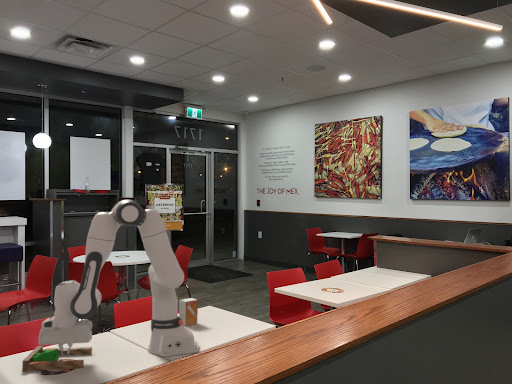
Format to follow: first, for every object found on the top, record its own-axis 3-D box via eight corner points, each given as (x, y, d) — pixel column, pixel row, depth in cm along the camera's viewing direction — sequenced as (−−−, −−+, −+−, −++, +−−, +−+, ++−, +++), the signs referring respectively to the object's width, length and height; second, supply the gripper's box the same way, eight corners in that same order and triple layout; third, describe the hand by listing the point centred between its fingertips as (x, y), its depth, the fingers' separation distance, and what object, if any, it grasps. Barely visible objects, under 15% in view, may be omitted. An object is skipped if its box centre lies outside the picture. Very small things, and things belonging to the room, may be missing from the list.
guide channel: (91, 352, 181) (92, 343, 181) (82, 367, 164) (82, 357, 164) (37, 355, 177) (37, 345, 177) (22, 371, 160) (22, 360, 161)
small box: (185, 326, 221) (185, 301, 222) (178, 323, 226) (179, 299, 226) (197, 323, 227) (198, 299, 227) (190, 321, 231) (191, 297, 232)
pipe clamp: (51, 358, 175) (52, 347, 175) (58, 359, 173) (58, 348, 174) (27, 367, 165) (28, 355, 165) (34, 368, 163) (34, 357, 163)
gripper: (93, 317, 177) (93, 349, 176) (42, 319, 173) (42, 352, 173) (90, 321, 171) (90, 355, 170) (37, 323, 167) (36, 358, 167)
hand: (65, 354), depth 172 cm, fingers closed
